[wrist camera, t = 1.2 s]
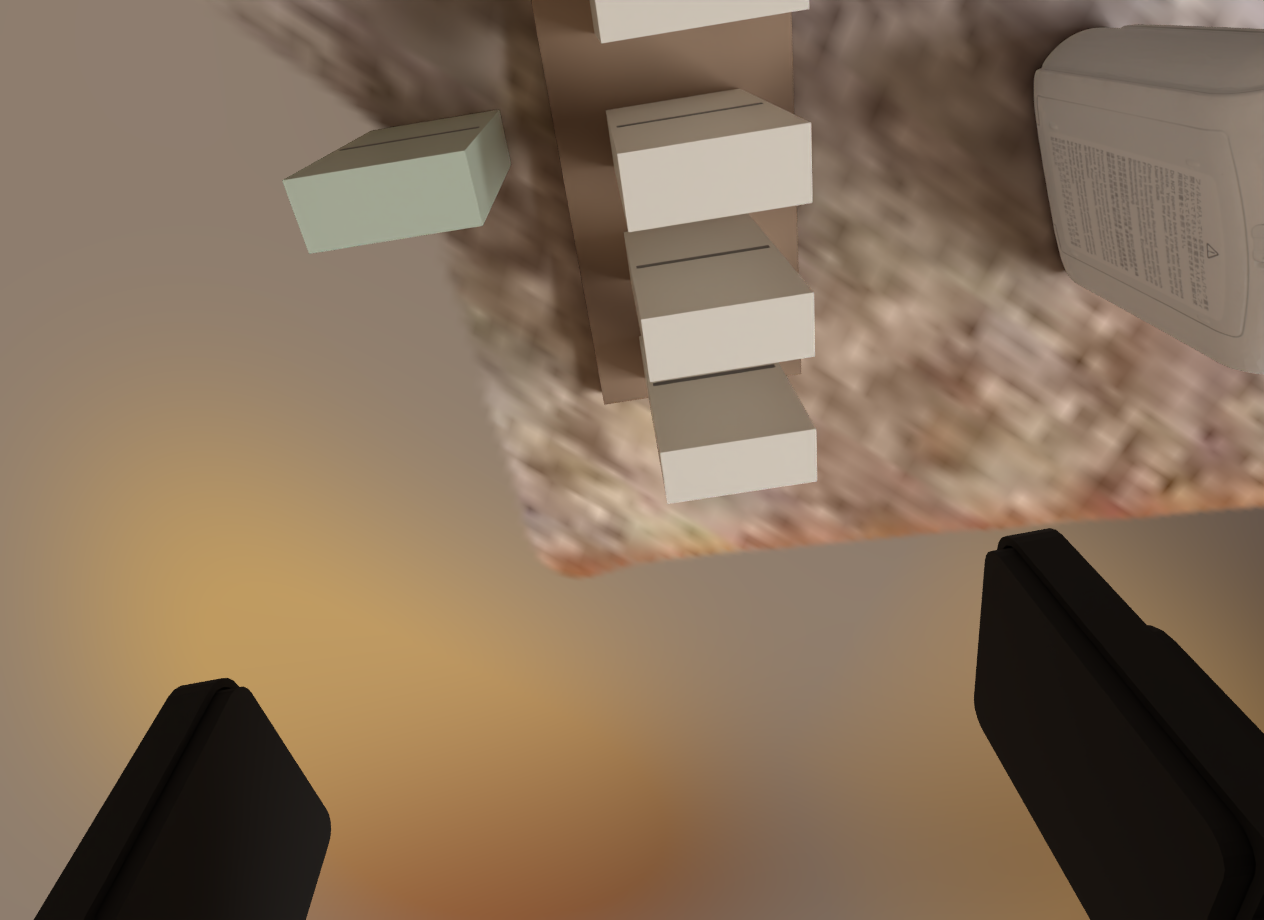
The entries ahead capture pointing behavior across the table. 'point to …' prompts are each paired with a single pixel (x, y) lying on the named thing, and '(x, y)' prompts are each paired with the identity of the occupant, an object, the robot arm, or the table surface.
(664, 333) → the domino
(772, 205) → the domino
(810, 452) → the domino
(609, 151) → the domino board
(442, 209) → the pale green domino
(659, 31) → the domino
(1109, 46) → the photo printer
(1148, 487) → the table surface
